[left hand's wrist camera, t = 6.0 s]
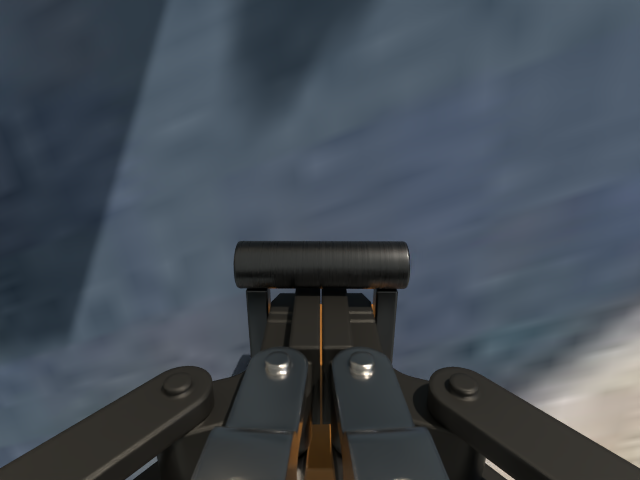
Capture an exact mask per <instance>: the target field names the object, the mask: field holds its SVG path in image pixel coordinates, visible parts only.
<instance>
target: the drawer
mask: <svg viewBox="0 0 640 480" xmlns="http://www.w3.org/2000/svg"><path fill="white" fill-rule="evenodd" d="M234 278H235V282H236V285H237V287H238V288H247V290H246V299H247V312H248V325H249V338H250V351H251V359H252V357H253V356H254V355H256V354H257V353H259V352H260V350H261V346H262V341H263V337H264V332H265V328H266V323H267V319H268V315H269V310H270V306H271V298H270V288H297V289H374V295H373V304H371V305H372V309H373V314H374V318H375V323H376V326H377V331H378V335H379V339H380V343H381V347H382V352H383V354H384V355H386V356H387V357H388V359H389V360H390V362H391V364H392V357H393V344H394V332H395V320H396V308H397V296H398V292H397V289H405V288H406V287H407V286H408V283H409V278H410V254H409V249H408V246H407V244H406V242H403V241H240V242H238V243H237V246H236V249H235V254H234ZM306 480H334V478H333V470H332V461H331V424H322V304H320V424H312V439H311V443H310V445H309V461H308V470H307V478H306Z"/></svg>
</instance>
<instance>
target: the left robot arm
mask: <svg viewBox="0 0 640 480" xmlns="http://www.w3.org/2000/svg"><path fill="white" fill-rule="evenodd" d="M312 424H320V289H297V288H296V292H295V293H280V294H279V295H278V296H277V297H276V298H275V299H274V300H273V301H272V302H271V306H270V310H269V315H268V319H267V323H266V328H265V332H264V337H263V341H262V346H261V350H260V352H259V353H257V354H256V355H254V356H253V357H252V359H251V360H250V362H249V364H248V366H247V369H246V371H244V372H243V373H241V374H238V375H236V376H233V377H229V378H225V379H220V380H216V381H212V378H211V376H210V374H209V373H208V372H207V371H206V370H204V369H202V368H199V367H195V366H182V367H177V368H173V369H170V370H168V371H165V372H163V373H161V374H160V375H158V376H156V377H155V378H153V379H151V380H149V381H148V382H146V383H144V384H143V385H141V386H139V387H138V388H136V389H134V390H133V391H131V392H129V393H127V394H126V395H124V396H122V397H121V398H119V399H117V400H116V401H114V402H112V403H110V404H109V405H107V406H105V407H104V408H102V409H100V410H99V411H97V412H95V413H93V414H92V415H90V416H88V417H87V418H85V419H83V420H82V421H80V422H78V423H76V424H75V425H73V426H71V427H70V428H68V429H66V430H65V431H63V432H61V433H60V434H58V435H56V436H54V437H53V438H51V439H49V440H48V441H46V442H44V443H43V444H41V445H39V446H37V447H36V448H34V449H32V450H31V451H29V452H27V453H26V454H24V455H22V456H20V457H19V458H17V459H15V460H14V461H12V462H10V463H9V464H7V465H5V466H3V467H2V468H0V480H125V479H126V478H128V477H129V476H130V475H132V474H133V473H134V472H136V471H137V470H138V469H140V468H141V467H142V466H144V465H145V464H146V463H148V462H149V461H150V460H152V459H153V458H154V457H156V456H157V460H158V461H157V462H156V463H154V464H153V465H152V466H150V467H149V468H148V469H146V470H145V471H144V472H142V473H141V474H140V475H139V476H137V477H136V478H135V479H133V480H306V478H307V470H308V461H309V445H310V443H311V439H312ZM322 424H331V461H332V470H333V478H334V480H507V479H505V478H504V477H503V476H501V475H500V474H499V473H498V472H496V471H495V470H494V469H492V468H491V467H490V466H488V465H487V464H486V463H485V460H486V458H487V459H488V460H490V461H491V462H492V463H494V464H495V465H496V466H498V467H499V468H500V469H502V470H503V471H504V472H506V473H507V474H508V475H510V476H511V477H512V478H514V479H515V480H640V468H638V467H637V466H635V465H633V464H631V463H630V462H628V461H626V460H625V459H623V458H621V457H620V456H618V455H616V454H614V453H613V452H611V451H609V450H608V449H606V448H604V447H603V446H601V445H599V444H597V443H596V442H594V441H592V440H591V439H589V438H587V437H586V436H584V435H582V434H580V433H579V432H577V431H575V430H574V429H572V428H570V427H569V426H567V425H565V424H564V423H562V422H560V421H558V420H557V419H555V418H553V417H552V416H550V415H548V414H547V413H545V412H543V411H541V410H540V409H538V408H536V407H535V406H533V405H531V404H530V403H528V402H526V401H524V400H523V399H521V398H519V397H518V396H516V395H514V394H513V393H511V392H509V391H507V390H506V389H504V388H502V387H501V386H499V385H497V384H496V383H494V382H492V381H490V380H489V379H487V378H485V377H484V376H482V375H480V374H478V373H476V372H474V371H472V370H469V369H465V368H460V367H446V368H442V369H439V370H437V371H435V372H434V373H433V374H432V376H431V377H430V380H429V381H427V380H423V379H419V378H415V377H411V376H407V375H405V374H402V373H401V372H399V371H397V370H395V369H394V368H393V366H392V364H391V362H390V360H389V359H388V357H387V356H386V355H384V354H383V352H382V347H381V343H380V339H379V335H378V331H377V326H376V323H375V318H374V314H373V309H372V305H371V302H370V301H369V300H368V299H367V298H366V297H365V296H364V295H363V294H362V293H347V291H346V289H322Z"/></svg>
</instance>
